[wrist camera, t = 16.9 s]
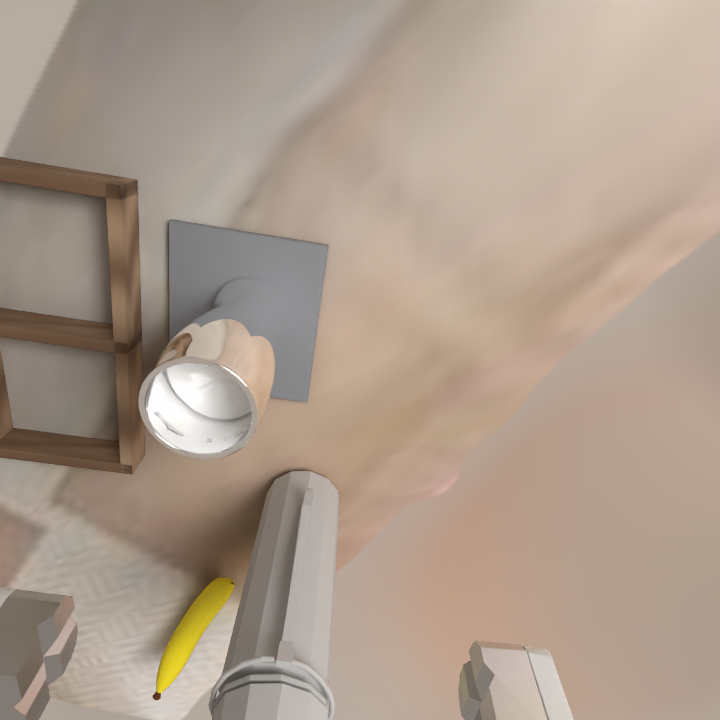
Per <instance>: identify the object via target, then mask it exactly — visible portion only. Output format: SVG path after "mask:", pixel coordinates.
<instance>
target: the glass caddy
mask: <svg viewBox="0 0 720 720" xmlns="http://www.w3.org/2000/svg"><path fill="white" fill-rule="evenodd" d="M0 181H5V182H11V183H18V184H24V185H30V186H36V187H42V188H48V189H54V190H61V191H67V192H73V193H79V194H85V195H91V196H98V197H104V198H106V209H107V227H108V245H109V263H110V282H111V300H112V318H113V324H106V323H99V322H92V321H85V320H78V319H72V318H65V317H58V316H51V315H44V314H38V313H31V312H24V311H17V310H10V309H3V308H0V337H6V338H13V339H20V340H27V341H34V342H41V343H48V344H55V345H62V346H69V347H76V348H83V349H90V350H97V351H104V352H111V353H114V354H115V373H116V391H117V409H118V427H119V442H115V441H108V440H100V439H93V438H85V437H77V436H70V435H62V434H55V433H47V432H39V431H32V430H24V429H17V428H13V425H12V419H11V413H10V407H9V401H8V395H7V388H6V382H5V376H4V370H3V364H2V358H1V352H0V457H1V458H9V459H17V460H25V461H33V462H40V463H48V464H56V465H64V466H72V467H79V468H87V469H95V470H103V471H111V472H119V473H126V474H133V473H134V471H135V469H136V468H137V466H138V465H139V463H140V461H141V460H142V458H143V457H144V455H145V432H144V422H143V420H142V418H141V415H140V411H139V404H138V399H139V392H140V389H141V386H142V384H143V362H142V326H141V291H140V256H139V221H138V186H137V180H136V179H129V178H123V177H117V176H111V175H105V174H99V173H93V172H87V171H81V170H75V169H69V168H63V167H57V166H51V165H45V164H39V163H33V162H27V161H21V160H15V159H9V158H3V157H0Z"/></svg>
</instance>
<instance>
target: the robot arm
mask: <svg viewBox="0 0 720 720" xmlns="http://www.w3.org/2000/svg"><path fill="white" fill-rule="evenodd" d="M74 608H75V607H74V602H73V597H72V596H65V595H57V594H49V593H41V592H33V591H25V590H19V589H11V588H2V587H0V720H39V718H40V717H41V715H42V713H43V711H44V709H45V707H46V706H47V704H48V702H49V700H50V694H49V688H48V685H49V684H51V683H52V682H53V681H55V680H56V679H57V678H59V677H60V676H61V675H63V673H64V671H65V669H66V667H67V665H68V663H69V661H70V659H71V656H72V653H73V650H74V647H75V644H76V639H77V623H76V622H75V621H74V620H73V619H72V618H71V617H70V615H71V613H72V611H73V610H74ZM469 653H470V659H471V660H470V661H469V662H467V663H466V664H464V665H463V668H462V671H461V674H460V681H459V703H460V710H461V715H462V717H463V718H464V719H465V720H573V717H572V714H571V711H570V708H569V705H568V702H567V700H566V697H565V694H564V691H563V688H562V685H561V682H560V679H559V677H558V673H557V671H556V668H555V665H554V662H553V659H552V656H551V654H550V653H549V651H548V650H547V649H545V648H539V647H528V646H521V645H516V644H505V643H493V642H484V641H475V642H474V643H472V645H471V648H470V650H469Z"/></svg>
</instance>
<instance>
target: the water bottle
mask: <svg viewBox="0 0 720 720" xmlns="http://www.w3.org/2000/svg"><path fill="white" fill-rule="evenodd" d="M338 516H339V496H338V491H337V490H336V488H335V487H334V486H333V484H332V483H331V482H330V481H329V479H328V478H326V477H324V476H322V475H319V474H316V473H314V472H311V471H291V472H289V473H287V474H285V475H283V476H281V477H279V478H277V479H275V480H274V482H273V484H272V485H271V487H270V489H269V490H268V492H267V495H266V499H265V503H264V507H263V511H262V515H261V519H260V523H259V528H258V532H257V536H256V540H255V544H254V548H253V552H252V556H251V560H250V564H249V568H248V572H247V576H246V580H245V584H244V588H243V592H242V596H241V600H240V604H239V608H238V612H237V616H236V620H235V624H234V628H233V632H232V636H231V640H230V644H229V649H228V653H227V657H226V661H225V665H224V669H223V673H222V675H221V677H220V678H219V680H218V681H217V683H216V684H215V686H214V687H213V689H212V693H211V698H210V702H209V709H210V712H211V715H212V720H332V718H333V714H334V710H335V704H334V700H333V695H332V691H331V690H330V688H329V687H328V686H329V669H330V668H329V667H330V652H331V634H332V617H333V601H334V583H335V567H336V550H337V533H338ZM218 689H219V692H220V693H219V695H218V696H217V698H216V699H215V697H216V694H217V691H218ZM328 700H329V708H330V709H329V715H328V709H327V703H328V702H327V701H328Z"/></svg>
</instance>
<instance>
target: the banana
mask: <svg viewBox="0 0 720 720" xmlns="http://www.w3.org/2000/svg"><path fill="white" fill-rule="evenodd" d="M233 589H234V582H233V579H231V578H216V579H215V580H213V581H212V582H211V583H210V584H209V585H208V586H207V587H206V588H205V589H204V590H203V591H202V593H201V594H200V595H199V596H198V597H197V598H196V600H195V601H194V602H193V604H192V605H191V607H190V608H189V610H188V611H187V612H186V614H185V615H184V617H183V619H182V620H181V622H180V623H179V625H178V626H177V628H176V630H175V632H174V633H173V635H172V637H171V639H170V641H169V642H168V644H167V646H166V649H165V651H164V653H163V656H162V659H161V662H160V665H159V669H158V674H157V685H156V693H155V694H154V695H153V698H154V699H155V700H159V699H160V696H161V693H162V692H163V691H164V690H165V689H166V688H167V687H168V686H169V685H171V683H172V682H173V681H174V680H175V678H176V677H177V676H178V675H179V673H180V672H181V670H182V669H183V667H184V666H185V664H186V662H187V660H188V659H189V657H190V655H191V653H192V651H193V650H194V648H195V646H196V644H197V642H198V641H199V639H200V637H201V636H202V634H203V632H204V631H205V629H206V628H207V626H208V625H209V624H210V622H211V621H212V619H213V618H214V617H215V615H216V614H217V613H218V612H219V610H220V609H221V608H222V606H223V605H224V604H225V603H226V601H227V600H228V599H229V597H230V596H231V594H232V592H233Z"/></svg>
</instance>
